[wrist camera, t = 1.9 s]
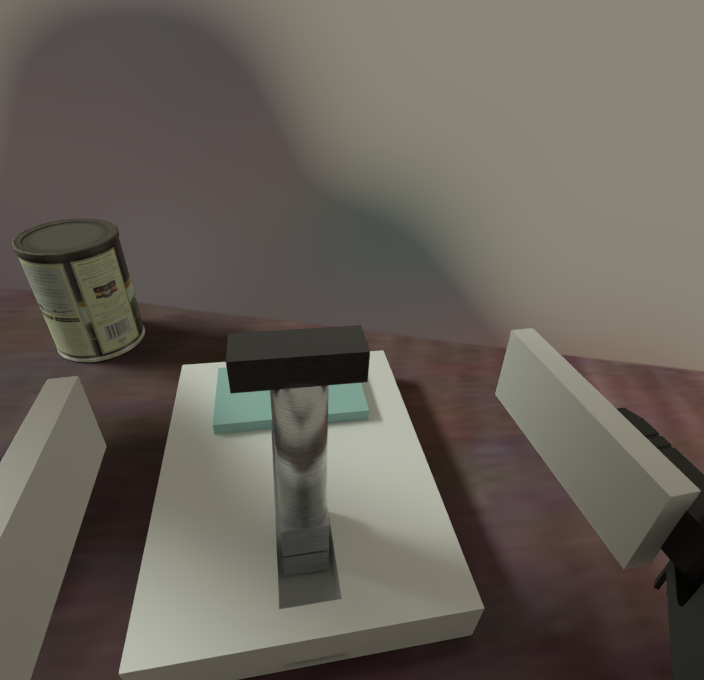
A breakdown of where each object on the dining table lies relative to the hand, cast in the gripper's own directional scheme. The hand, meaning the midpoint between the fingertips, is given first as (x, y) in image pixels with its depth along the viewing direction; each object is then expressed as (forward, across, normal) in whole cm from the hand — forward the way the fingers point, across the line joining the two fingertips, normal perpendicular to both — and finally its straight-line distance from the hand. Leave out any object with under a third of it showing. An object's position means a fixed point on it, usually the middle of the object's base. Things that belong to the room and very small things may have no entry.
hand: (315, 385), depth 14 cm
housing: (+16, 0, -24) cm, 29 cm away
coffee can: (+42, -22, -23) cm, 53 cm away
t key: (+9, 0, -23) cm, 25 cm away
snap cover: (+23, 0, -20) cm, 31 cm away
